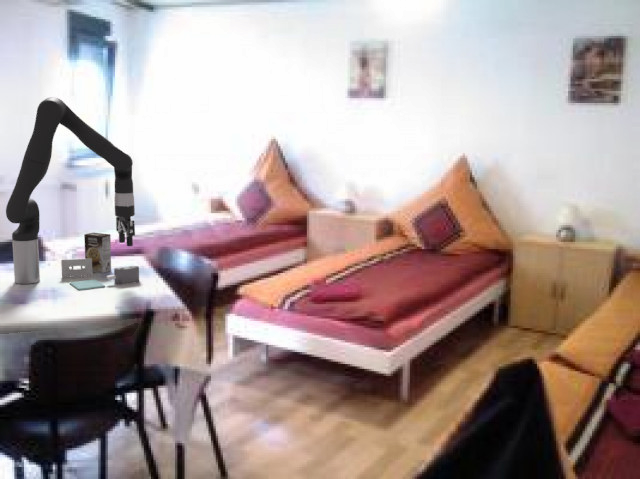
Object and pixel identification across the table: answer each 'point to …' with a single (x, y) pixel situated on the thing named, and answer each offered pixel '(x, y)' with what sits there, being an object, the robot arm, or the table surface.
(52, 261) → the table surface
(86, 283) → the teal rubber mat
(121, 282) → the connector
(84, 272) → the cassette
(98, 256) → the coffee box
